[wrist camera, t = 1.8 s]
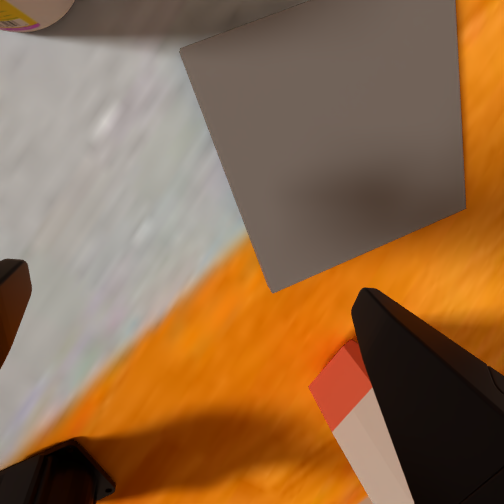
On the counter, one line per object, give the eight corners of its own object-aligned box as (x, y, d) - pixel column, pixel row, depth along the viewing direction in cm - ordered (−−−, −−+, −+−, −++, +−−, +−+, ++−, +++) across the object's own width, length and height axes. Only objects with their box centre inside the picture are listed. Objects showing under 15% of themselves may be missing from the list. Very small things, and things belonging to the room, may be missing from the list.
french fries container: (377, 407, 32) (595, 711, 16) (293, 368, 28) (477, 733, 11) (409, 372, 31) (674, 654, 15) (329, 325, 27) (581, 654, 11)
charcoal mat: (453, 204, 25) (466, 208, 24) (267, 285, 24) (272, 293, 23) (435, -44, 19) (452, -53, 17) (179, 52, 17) (180, 48, 16)
